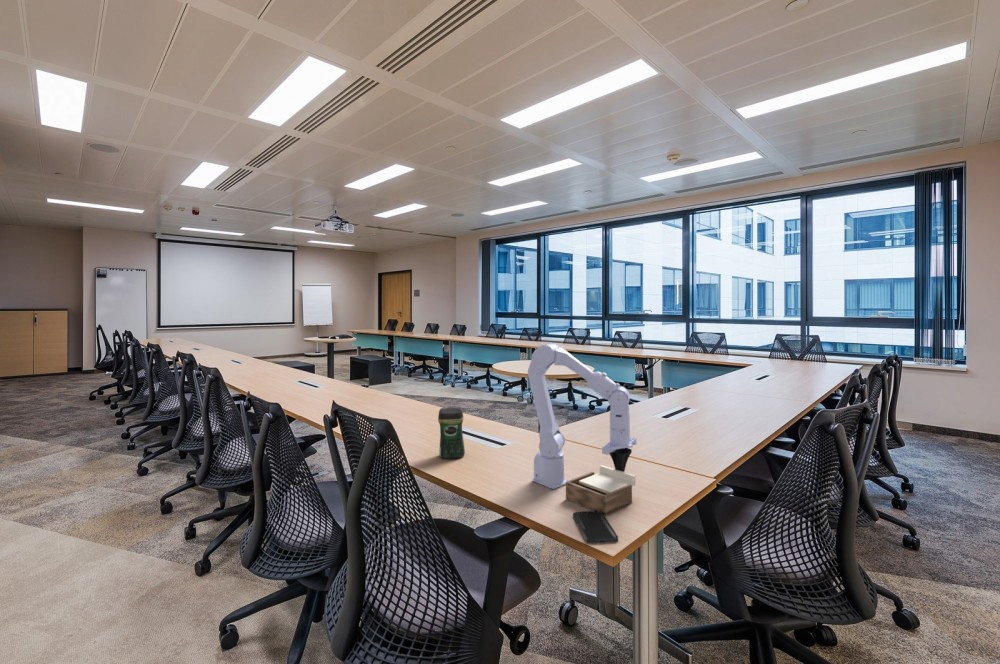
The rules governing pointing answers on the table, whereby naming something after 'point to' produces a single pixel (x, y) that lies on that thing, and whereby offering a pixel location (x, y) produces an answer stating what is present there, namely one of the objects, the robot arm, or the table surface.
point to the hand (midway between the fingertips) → (619, 472)
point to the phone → (595, 527)
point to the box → (597, 496)
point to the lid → (608, 480)
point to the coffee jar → (451, 433)
